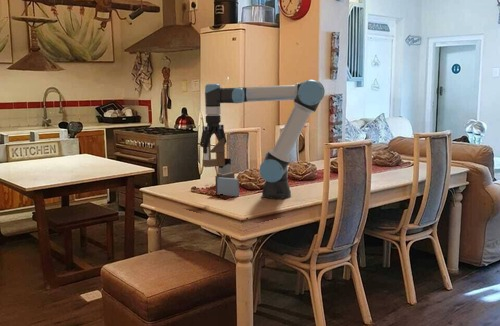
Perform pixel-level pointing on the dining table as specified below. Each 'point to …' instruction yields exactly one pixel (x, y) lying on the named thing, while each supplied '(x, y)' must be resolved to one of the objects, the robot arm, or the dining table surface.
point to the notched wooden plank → (227, 175)
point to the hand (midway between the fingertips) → (213, 158)
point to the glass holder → (224, 167)
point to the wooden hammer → (220, 154)
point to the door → (228, 186)
